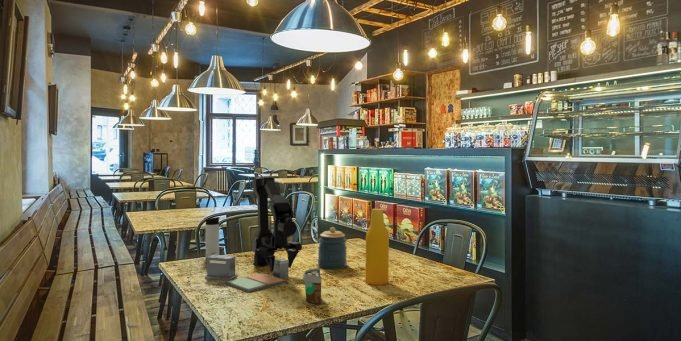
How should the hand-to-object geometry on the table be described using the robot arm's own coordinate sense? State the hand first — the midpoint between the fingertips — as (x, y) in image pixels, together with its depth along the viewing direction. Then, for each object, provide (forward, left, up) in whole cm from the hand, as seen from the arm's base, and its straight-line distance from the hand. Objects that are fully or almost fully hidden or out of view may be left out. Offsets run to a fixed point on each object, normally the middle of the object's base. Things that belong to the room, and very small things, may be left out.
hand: (280, 269), depth 192 cm
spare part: (0, 0, -3) cm, 3 cm away
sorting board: (+13, +1, -3) cm, 13 cm away
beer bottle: (-22, +33, -3) cm, 40 cm away
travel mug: (+3, -48, -3) cm, 48 cm away
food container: (+12, +32, -3) cm, 34 cm away
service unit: (+18, -16, -3) cm, 24 cm away
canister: (-28, +2, -3) cm, 28 cm away
